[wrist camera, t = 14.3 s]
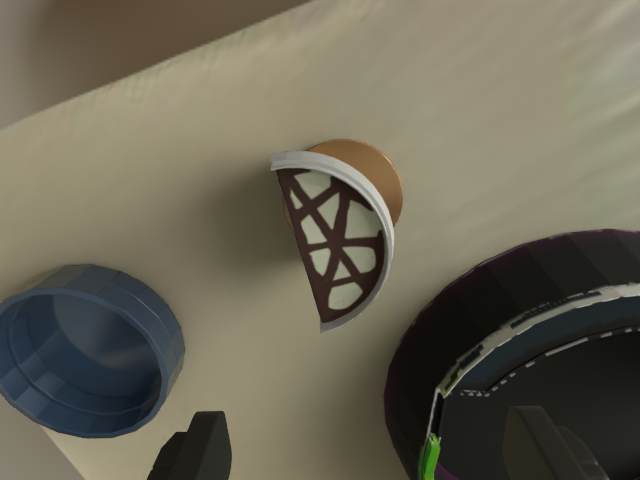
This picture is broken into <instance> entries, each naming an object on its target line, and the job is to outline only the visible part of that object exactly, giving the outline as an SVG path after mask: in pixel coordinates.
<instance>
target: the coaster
mask: <svg viewBox="0 0 640 480" xmlns="http://www.w3.org/2000/svg"><path fill="white" fill-rule="evenodd" d="M307 152H314V153H320V154H324V155H327V156H330V157H333V158H336V159H338V160H340V161H342V162H344V163H346V164H348V165H350V166H351V167H353V168H354V169H356V170H357V171H358V172H360V173H361V174H363V175H364V176H365V177H366V178H367V179H368V180H369V181H370V182H371V183H372V184H373V185H374V187H375V188H376V190H377V191H378V192H379V194H380V195H381V196H382V198H383V200H384V202H385V204H386V206H387V208H388V210H389V214H390V217H391V220H392V224H393V228H394V226H395V225H396V223H397V221H398V218H399V216H400V213H401V208H402V201H403V193H402V186H401V182H400V179H399V176H398V174H397V172H396V170H395V168H394V167H393V165H392V164H391V162H390V161H389V160H388V159H387V158H386V156H385V155H383V154H382V153H381V152H380V151H379V150H377V149H375V148H374V147H372V146H370V145H368V144H366V143H363V142H360V141H356V140H349V139H338V140H331V141H327V142H324V143H321V144H319V145H316V146H315V147H313V148H311V149H309V150H308V151H307ZM283 206H284V212H285V215H286V218H287V221H288V223H289V225H290V227H291V228H292V230H293V231H294V228H293V225H292V221H291V218H290V215H289V211H288V208H287V204H286V201H285V197H284V194H283ZM294 233H295V232H294Z"/></svg>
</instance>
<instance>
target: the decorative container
mask: <svg viewBox="0 0 640 480" xmlns="http://www.w3.org/2000/svg"><path fill="white" fill-rule="evenodd" d="M511 406H541V407H542V408H543V409H544V410H545V412H546V413H547V415H548V416H549V418H550V419H551V421H552V422H553V424H554V425H555V426H565V427H566V428H568V429H569V430H570V431H571V432H572V433H574V434H575V435H576V436H577V437H578V438H580V439H581V440H582V441H583V442H584V443H585V444H586V445H587V447H588V448H589V450H590V451H591V453H592V454H593V455H594V457H595V458H596V460H597V461H598V465H599V466H601V467H602V468H603V470H604V471H605V472H606V474H607V475H608V477H609V480H640V232H639V231H627V230H616V229H605V230H594V231H583V232H572V233H565V234H561V235H557V236H553V237H550V238H546V239H542V240H538V241H535V242H531V243H527V244H523V245H521V246H519V247H517V248H514V249H512V250H510V251H508V252H506V253H503V254H501V255H499V256H497V257H494V258H492V259H490V260H488V261H485V262H483V263H482V264H480V265H479V266H477V267H476V268H474V269H473V270H471V271H470V272H468V273H467V274H465V275H464V276H462V277H461V278H459V279H458V280H456V281H455V282H453V283H452V284H450V285H449V286H448V287H447V288H446V289H445V290H444V291H443V292H442V293H441V294H439V295H438V296H437V297H436V298H435V299H434V300H433V301H432V302H431V303H430V304H429V305H428V306H427V307H426V308H425V309H424V310H423V311H422V312H421V313H420V314H419V316H418V317H417V318H416V320H415V321H414V322H413V324H412V325H411V327H410V328H409V329H408V331H407V332H406V333H405V335H404V336H403V337H402V339H401V341H400V344H399V346H398V348H397V350H396V353H395V355H394V357H393V360H392V362H391V364H390V366H389V371H388V376H387V382H386V387H385V392H384V407H385V421H386V425H387V428H388V431H389V434H390V437H391V440H392V443H393V446H394V448H395V450H396V452H397V454H398V456H399V458H400V460H401V462H402V464H403V466H404V468H405V470H406V472H407V474H408V476H409V478H410V480H511V478H510V476H509V474H508V472H507V469H506V466H505V462H504V457H503V442H504V435H505V429H506V422H507V416H508V410H509V408H510V407H511Z"/></svg>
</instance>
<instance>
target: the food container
mask: <svg viewBox="0 0 640 480" xmlns="http://www.w3.org/2000/svg"><path fill="white" fill-rule="evenodd" d="M271 165H272V167H271V169H270V170H276V172H277V175H278V180H279V183H280V185H281V188H282V191H283V194H284V197H285V201H286V204H287V208H288V211H289V215H290V218H291V221H292V225H293V228H294V232H295V236H296V239H297V243H298V247H299V250H300V254H301V257H302V260H303V263H304V266H305V269H306V272H307V275H308V279H309V282H310V285H311V288H312V292H313V295H314V298H315V302H316V305H317V308H318V311H319V315H320V334H323V333H326V332H330V331H333V330H335V329H338V328H340V327H342V326H345V325H346V324H348V323H349V322H351V321H353V320H354V319H356V318H357V317H358V316H359V315H361V314H362V313H363V312H364V311H365V310H366V309H367V308H368V307H369V306H370V305H371V303H372V302H373V301H374V300H375V299H376V298H377V296H378V294H379V293H380V291H381V290H382V288H383V286H384V284H385V282H386V279H387V277H388V275H389V271H390V267H391V262H392V257H393V251H394V232H393V224H392V220H391V217H390V214H389V210H388V208H387V206H386V204H385V202H384V200H383V198H382V196H381V195H380V194H379V192H378V191H377V190H376V188H375V187H374V185H373V184H372V183H371V182H370V181H369V180H368V179H367V178H366V177H365V176H364V175H363V174H361V173H360V172H358V171H357V170H356V169H354V168H353V167H351V166H350V165H348V164H346V163H344V162H342V161H340V160H338V159H336V158H333V157H330V156H327V155H324V154H320V153H314V152H307V151H285V152H280V153H274V154H272V159H271Z"/></svg>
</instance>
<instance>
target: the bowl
mask: <svg viewBox="0 0 640 480" xmlns="http://www.w3.org/2000/svg"><path fill="white" fill-rule="evenodd" d="M184 354H185V345H184V340H183V335H182V331H181V327H180V324H179V323H178V321H177V319H176V318H175V316H174V314H173V313H172V311H171V309H170V308H169V306H168V305H167V304H166V303H165V302H164V300H163V299H162V298H161V297H160V296H159V295H158V294H157V293H156V292H154V291H153V290H152V289H151V288H149V287H148V286H147V285H145V284H144V283H142V282H140V281H139V280H137V279H135V278H133V277H131V276H129V275H127V274H125V273H123V272H120V271H116V270H112V269H108V268H104V267H100V266H96V265H73V266H64V267H61V268H58V269H56V270H53V271H50V272H48V273H45V274H42V275H41V276H39V277H38V278H36V279H35V280H33V281H32V282H30V283H29V284H27V285H26V286H24V287H23V288H21V289H20V290H18V291H17V292H15V293H14V294H12V295H11V296H9V297H8V298H6V299H5V300H4V301H3V302H2V303H1V304H0V393H1V394H2V396H3V397H4V398H5V399H6V400H7V401H8V403H9V404H10V405H12V406H13V407H14V408H16V409H17V410H19V411H20V412H21V413H23V414H24V415H25V416H27V417H28V418H29V419H31V420H32V421H34V422H36V423H38V424H40V425H42V426H45V427H47V428H49V429H51V430H54V431H56V432H58V433H63V434H67V435H72V436H77V437H81V438H114V437H117V436H121V435H124V434H128V433H131V432H135V431H136V430H138V429H139V428H141V427H142V426H144V425H145V424H147V423H148V422H149V421H151V420H152V419H154V417H155V416H156V414H157V413H158V411H159V410H160V408H161V407H162V405H163V404H164V402H165V400H166V398H167V397H168V395H169V393H170V391H171V389H172V387H173V385H174V383H175V381H176V379H177V377H178V375H179V374H180V372H181V369H182V366H183V360H184Z"/></svg>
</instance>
